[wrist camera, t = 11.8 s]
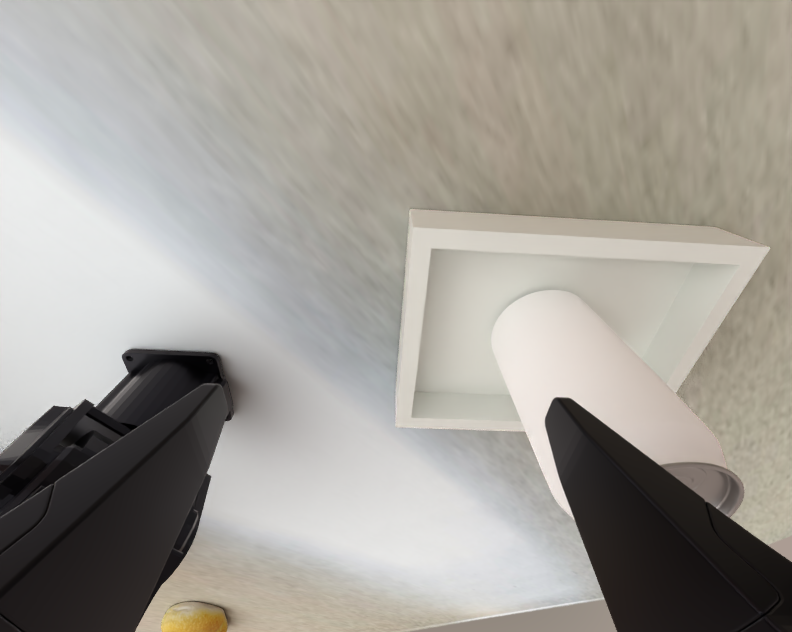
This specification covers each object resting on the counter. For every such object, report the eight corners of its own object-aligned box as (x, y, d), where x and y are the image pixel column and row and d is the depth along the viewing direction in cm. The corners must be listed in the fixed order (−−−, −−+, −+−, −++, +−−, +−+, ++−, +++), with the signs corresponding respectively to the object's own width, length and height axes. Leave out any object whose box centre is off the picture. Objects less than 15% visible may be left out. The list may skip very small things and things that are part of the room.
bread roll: (223, 598, 46) (210, 638, 43) (233, 624, 51) (222, 662, 48) (159, 597, 46) (141, 636, 42) (176, 623, 50) (160, 661, 47)
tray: (395, 391, 27) (395, 427, 24) (409, 208, 20) (413, 227, 17) (620, 399, 28) (647, 435, 25) (714, 226, 20) (770, 247, 17)
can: (606, 293, 21) (805, 465, 11) (565, 372, 25) (688, 562, 14) (506, 279, 21) (617, 448, 11) (477, 362, 24) (540, 552, 14)
